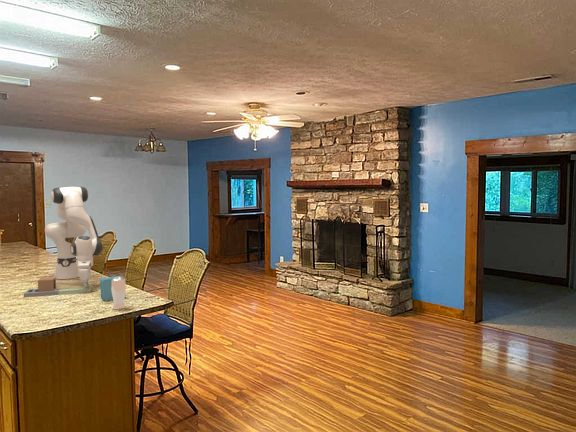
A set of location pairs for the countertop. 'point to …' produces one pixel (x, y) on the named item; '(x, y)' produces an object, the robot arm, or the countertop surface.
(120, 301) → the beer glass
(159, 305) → the countertop surface
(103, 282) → the data package
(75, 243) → the robot arm
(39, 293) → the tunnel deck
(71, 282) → the birch bar
